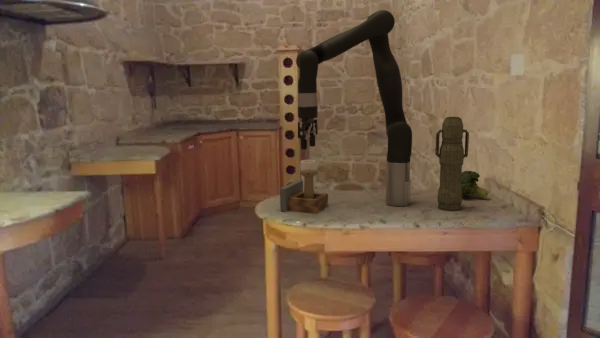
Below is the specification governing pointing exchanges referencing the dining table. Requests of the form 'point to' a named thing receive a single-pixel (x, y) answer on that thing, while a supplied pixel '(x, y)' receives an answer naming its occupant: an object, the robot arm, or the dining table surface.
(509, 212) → the dining table surface
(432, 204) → the dining table surface
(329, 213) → the dining table surface
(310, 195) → the handle
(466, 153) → the thermos
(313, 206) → the walnut block
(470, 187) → the vegetable
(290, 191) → the slate wall
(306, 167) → the drinking glass
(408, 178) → the robot arm
